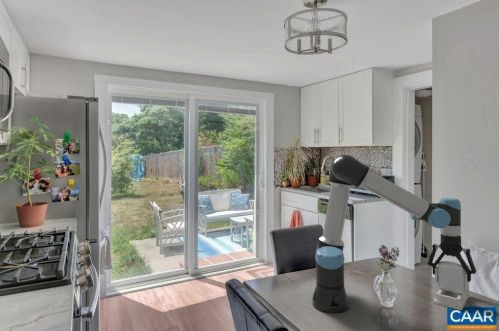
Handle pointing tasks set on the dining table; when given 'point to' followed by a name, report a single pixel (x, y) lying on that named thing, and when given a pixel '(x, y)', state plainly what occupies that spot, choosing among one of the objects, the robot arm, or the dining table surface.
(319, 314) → the dining table surface
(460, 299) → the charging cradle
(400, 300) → the dining table surface
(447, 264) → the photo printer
